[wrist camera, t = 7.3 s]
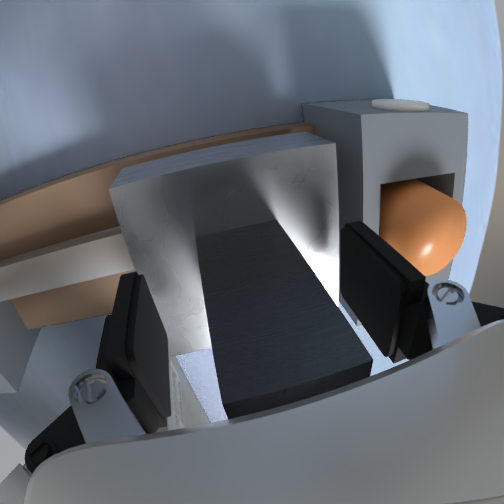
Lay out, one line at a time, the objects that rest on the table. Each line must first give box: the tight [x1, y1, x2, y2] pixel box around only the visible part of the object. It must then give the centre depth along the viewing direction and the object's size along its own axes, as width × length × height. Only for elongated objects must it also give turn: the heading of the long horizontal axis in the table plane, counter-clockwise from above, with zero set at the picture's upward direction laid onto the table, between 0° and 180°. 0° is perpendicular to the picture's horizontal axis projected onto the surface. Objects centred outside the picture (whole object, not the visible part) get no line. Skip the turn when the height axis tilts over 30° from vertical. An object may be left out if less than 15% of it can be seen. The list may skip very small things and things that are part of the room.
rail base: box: [0, 122, 316, 330], centre depth 16 cm, size 8×29×2 cm, turn 98°
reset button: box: [379, 179, 466, 276], centre depth 14 cm, size 4×4×4 cm
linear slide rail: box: [0, 99, 468, 394], centre depth 14 cm, size 10×29×6 cm, turn 98°
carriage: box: [109, 131, 373, 419], centre depth 11 cm, size 8×8×10 cm
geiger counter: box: [155, 351, 211, 433], centre depth 21 cm, size 14×6×25 cm
